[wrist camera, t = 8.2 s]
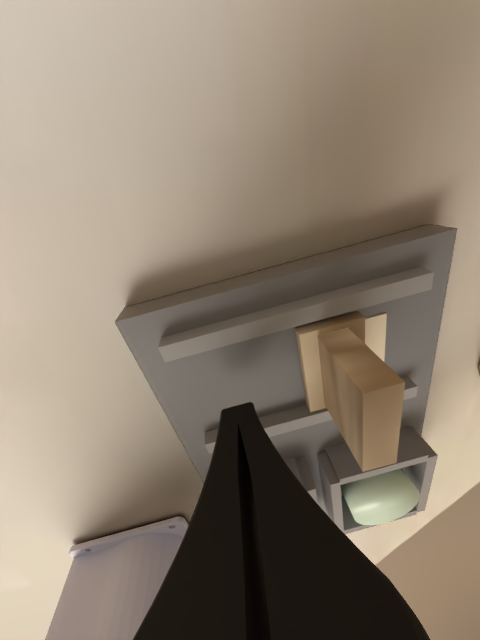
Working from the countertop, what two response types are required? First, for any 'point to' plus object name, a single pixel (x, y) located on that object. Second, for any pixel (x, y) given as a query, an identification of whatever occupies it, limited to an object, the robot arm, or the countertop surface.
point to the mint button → (381, 497)
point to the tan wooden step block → (352, 387)
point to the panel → (283, 357)
